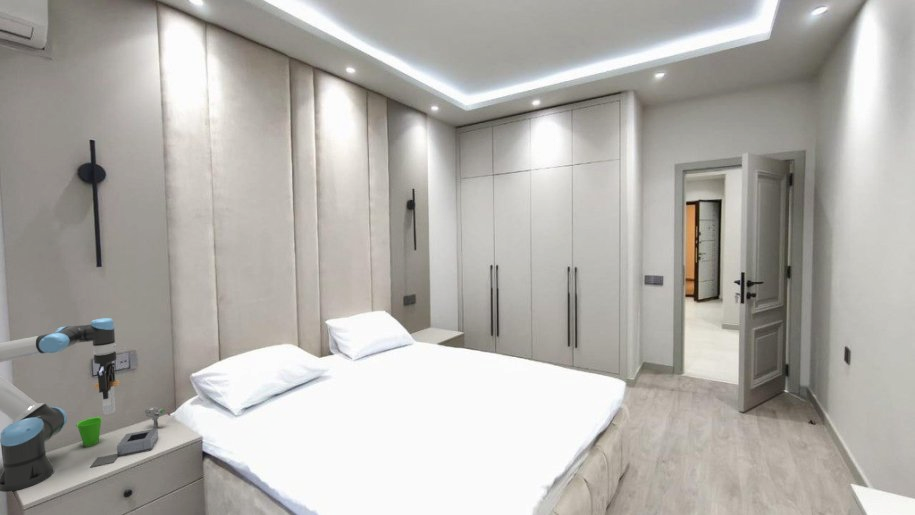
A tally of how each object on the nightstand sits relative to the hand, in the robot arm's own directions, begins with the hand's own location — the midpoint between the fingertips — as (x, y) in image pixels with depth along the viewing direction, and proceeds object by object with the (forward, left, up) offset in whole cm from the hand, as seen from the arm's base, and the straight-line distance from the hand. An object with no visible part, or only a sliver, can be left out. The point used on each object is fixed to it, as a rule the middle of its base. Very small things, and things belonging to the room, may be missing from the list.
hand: (108, 403), depth 180 cm
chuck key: (0, 0, -4) cm, 4 cm away
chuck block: (+10, -2, -22) cm, 25 cm away
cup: (-12, +13, -22) cm, 29 cm away
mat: (0, -9, -22) cm, 24 cm away
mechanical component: (+12, +18, -22) cm, 31 cm away
